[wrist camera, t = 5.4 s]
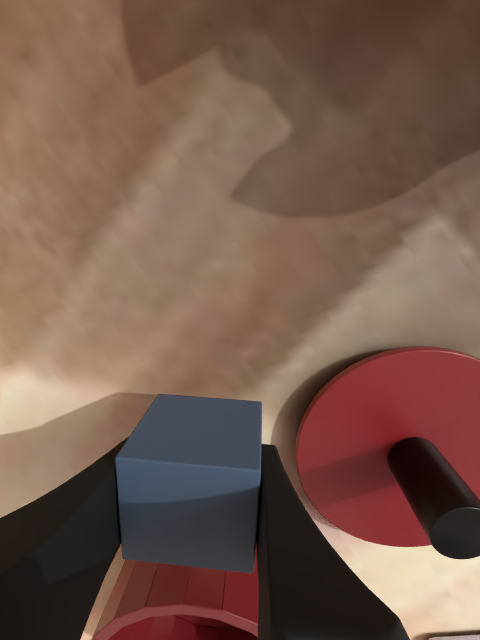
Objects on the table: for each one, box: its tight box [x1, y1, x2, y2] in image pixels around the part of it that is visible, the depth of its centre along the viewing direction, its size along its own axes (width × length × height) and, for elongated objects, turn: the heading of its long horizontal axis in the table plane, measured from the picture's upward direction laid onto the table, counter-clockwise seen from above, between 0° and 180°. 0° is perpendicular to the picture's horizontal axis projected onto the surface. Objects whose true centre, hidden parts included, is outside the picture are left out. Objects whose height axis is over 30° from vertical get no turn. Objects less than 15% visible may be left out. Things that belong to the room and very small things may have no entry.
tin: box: [92, 548, 259, 640], centre depth 17 cm, size 10×10×5 cm
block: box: [115, 394, 262, 573], centre depth 11 cm, size 4×4×4 cm
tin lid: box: [296, 347, 480, 559], centre depth 14 cm, size 11×11×5 cm
